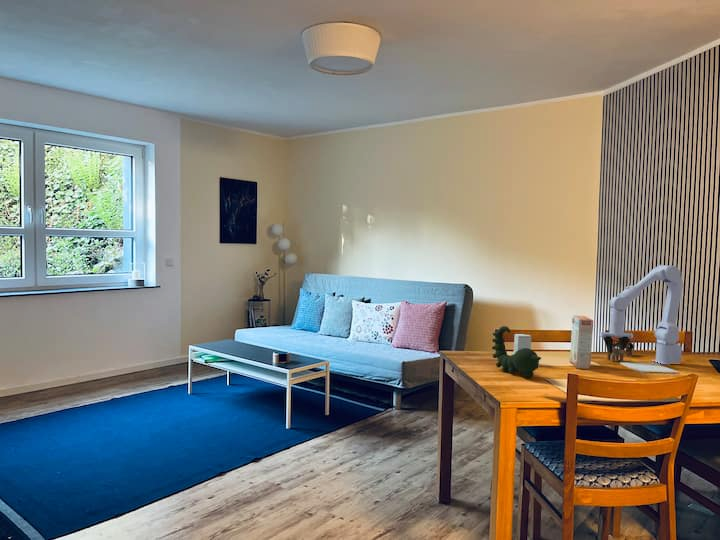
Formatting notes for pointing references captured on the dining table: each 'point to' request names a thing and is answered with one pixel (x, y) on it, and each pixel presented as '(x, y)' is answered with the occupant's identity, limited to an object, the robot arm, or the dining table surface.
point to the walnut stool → (616, 354)
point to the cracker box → (581, 342)
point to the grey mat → (648, 367)
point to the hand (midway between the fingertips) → (615, 353)
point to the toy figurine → (514, 356)
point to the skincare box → (522, 342)
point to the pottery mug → (628, 348)
